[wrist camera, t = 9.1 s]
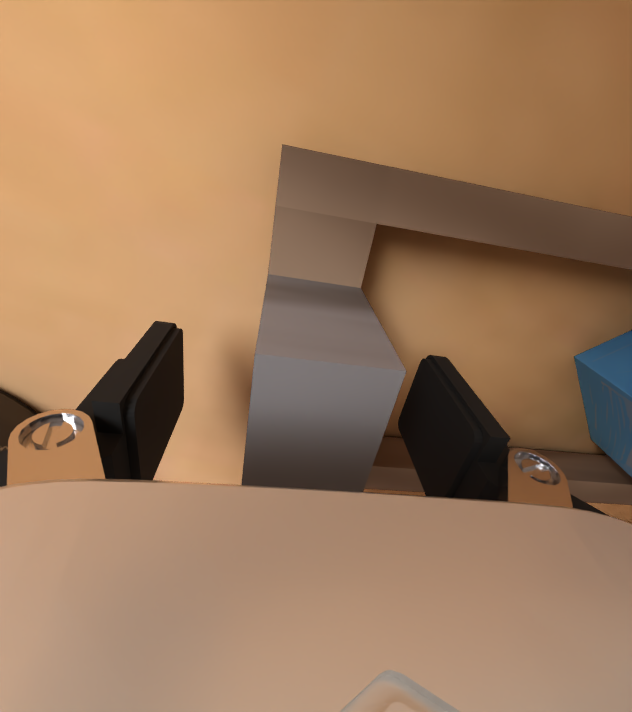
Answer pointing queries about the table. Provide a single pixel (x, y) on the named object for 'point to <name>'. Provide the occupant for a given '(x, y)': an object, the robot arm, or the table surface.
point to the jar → (11, 416)
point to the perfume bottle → (609, 396)
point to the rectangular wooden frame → (362, 328)
